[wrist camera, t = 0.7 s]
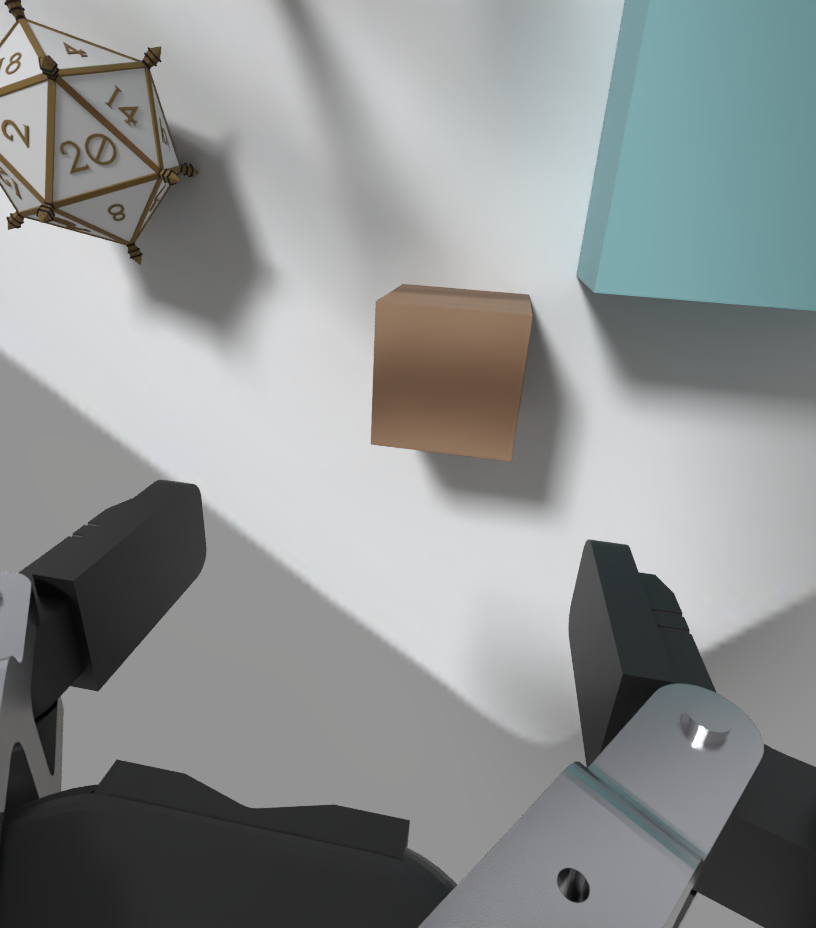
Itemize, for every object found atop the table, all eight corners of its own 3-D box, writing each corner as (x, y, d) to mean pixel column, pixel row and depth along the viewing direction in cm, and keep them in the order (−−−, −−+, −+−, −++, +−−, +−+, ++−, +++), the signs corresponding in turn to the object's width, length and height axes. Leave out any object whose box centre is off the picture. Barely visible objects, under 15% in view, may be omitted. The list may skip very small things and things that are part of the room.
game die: (189, 118, 29) (172, -57, 20) (212, 282, 29) (207, 188, 20) (-14, 107, 26) (-149, -102, 17) (13, 288, 27) (-105, 183, 17)
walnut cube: (403, 284, 27) (375, 301, 22) (528, 294, 26) (532, 315, 21) (396, 402, 30) (370, 444, 24) (511, 415, 29) (510, 461, 23)
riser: (637, -67, 21) (681, -166, 15) (1002, -65, 19) (1195, -175, 14) (576, 275, 26) (593, 292, 20) (862, 298, 24) (964, 323, 19)
